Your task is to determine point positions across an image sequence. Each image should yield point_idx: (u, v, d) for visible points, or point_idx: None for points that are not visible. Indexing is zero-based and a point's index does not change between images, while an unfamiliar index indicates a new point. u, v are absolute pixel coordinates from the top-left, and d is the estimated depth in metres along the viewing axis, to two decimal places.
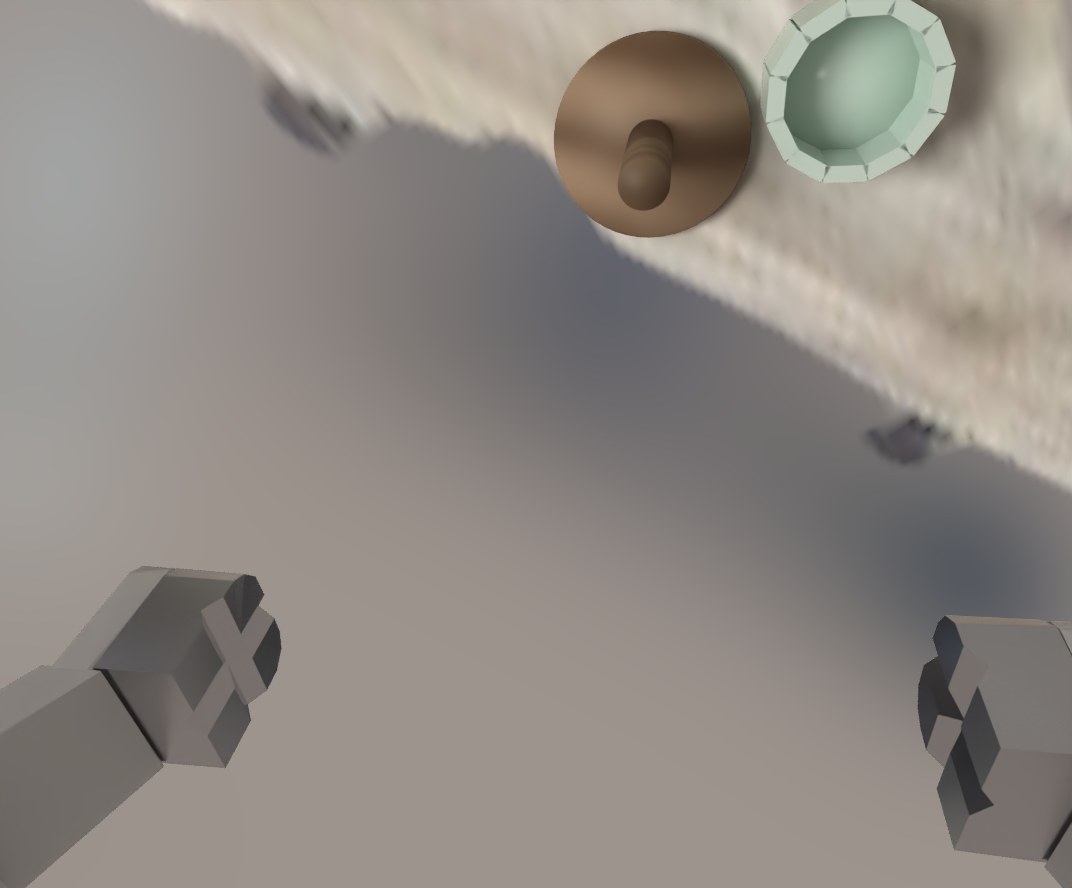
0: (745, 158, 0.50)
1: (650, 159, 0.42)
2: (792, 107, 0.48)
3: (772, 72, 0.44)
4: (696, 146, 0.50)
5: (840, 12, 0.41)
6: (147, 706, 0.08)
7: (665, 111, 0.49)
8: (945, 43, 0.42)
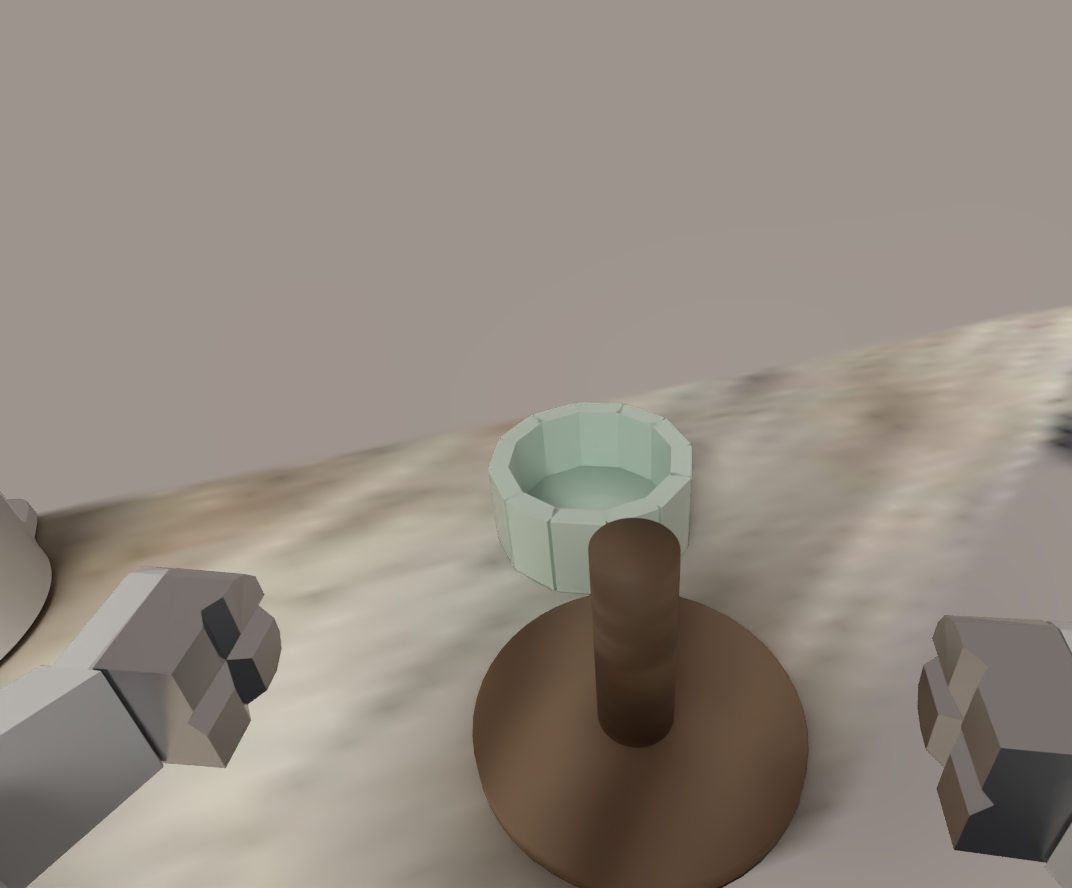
0: None
1: (592, 537, 0.25)
2: None
3: (546, 520, 0.34)
4: None
5: (500, 472, 0.38)
6: (147, 706, 0.08)
7: (590, 687, 0.31)
8: (555, 409, 0.42)
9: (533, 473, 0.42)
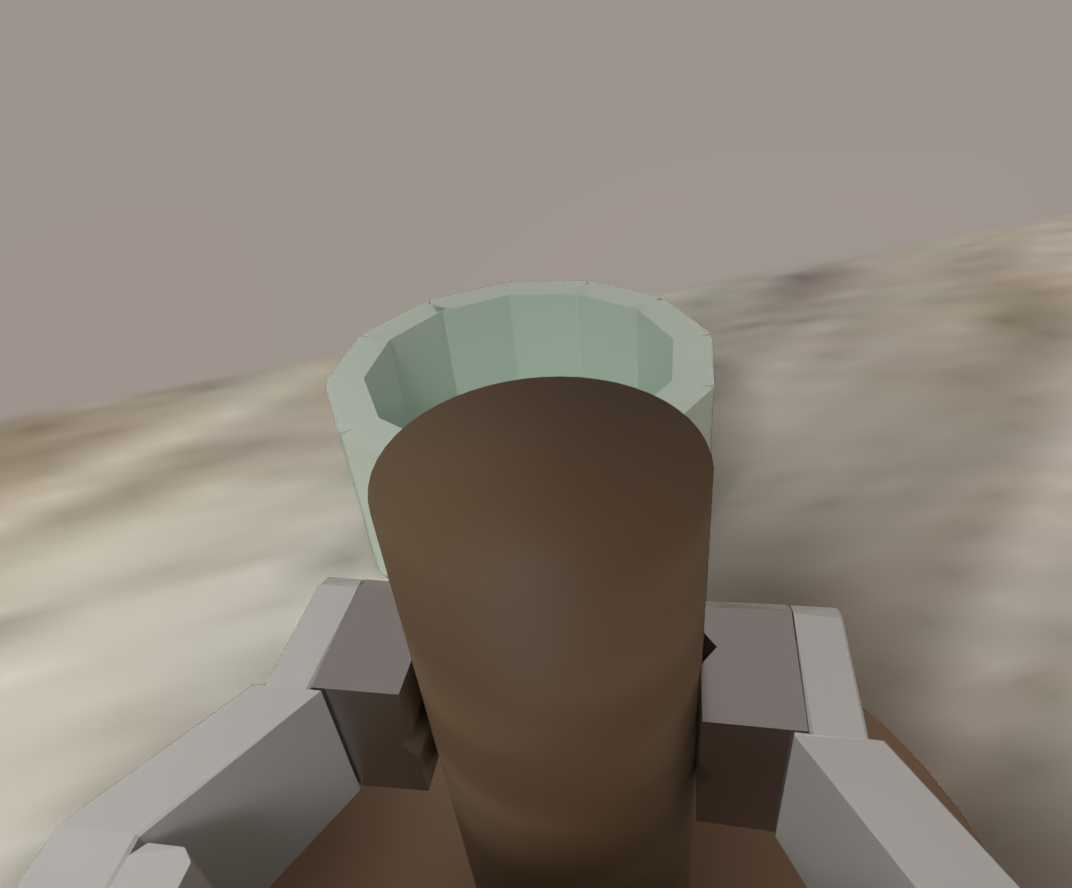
0: None
1: (401, 435, 0.07)
2: None
3: None
4: None
5: (347, 386, 0.20)
6: (360, 727, 0.08)
7: None
8: (469, 292, 0.24)
9: (432, 405, 0.24)
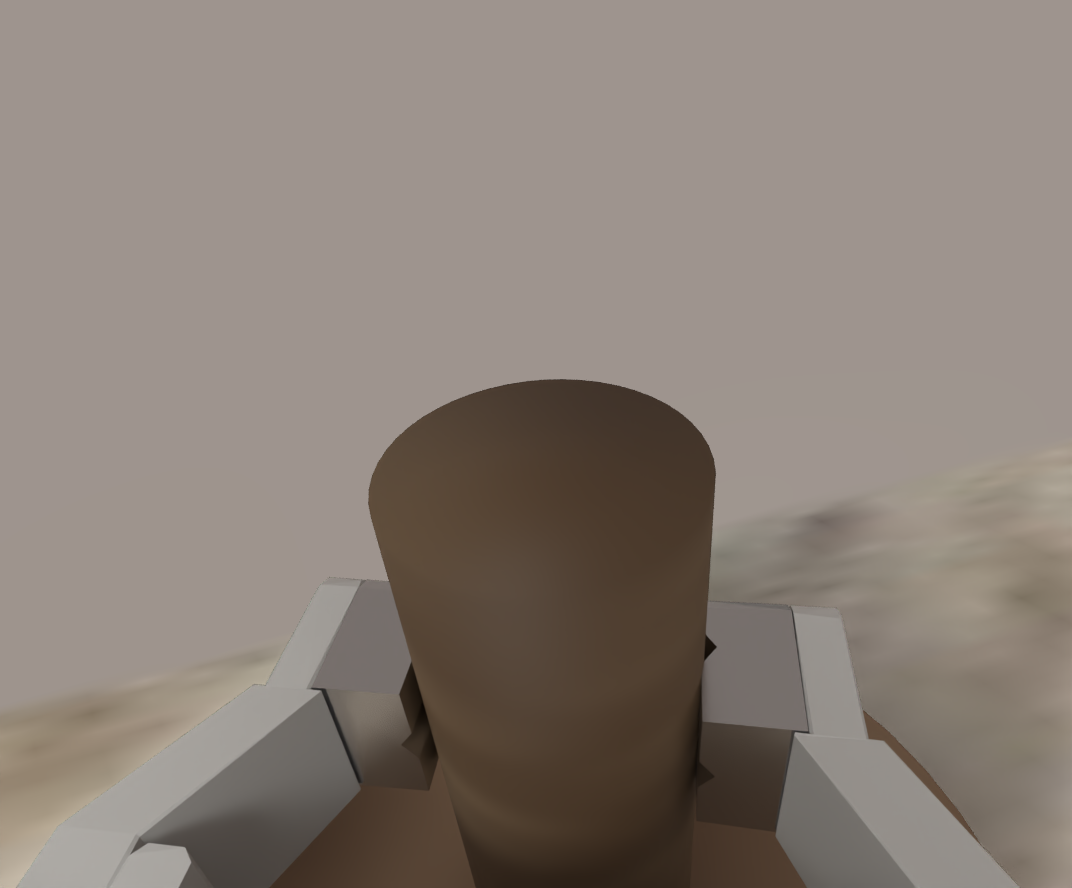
0: None
1: (401, 438, 0.07)
2: None
3: None
4: None
5: None
6: (360, 727, 0.08)
7: None
8: None
9: None
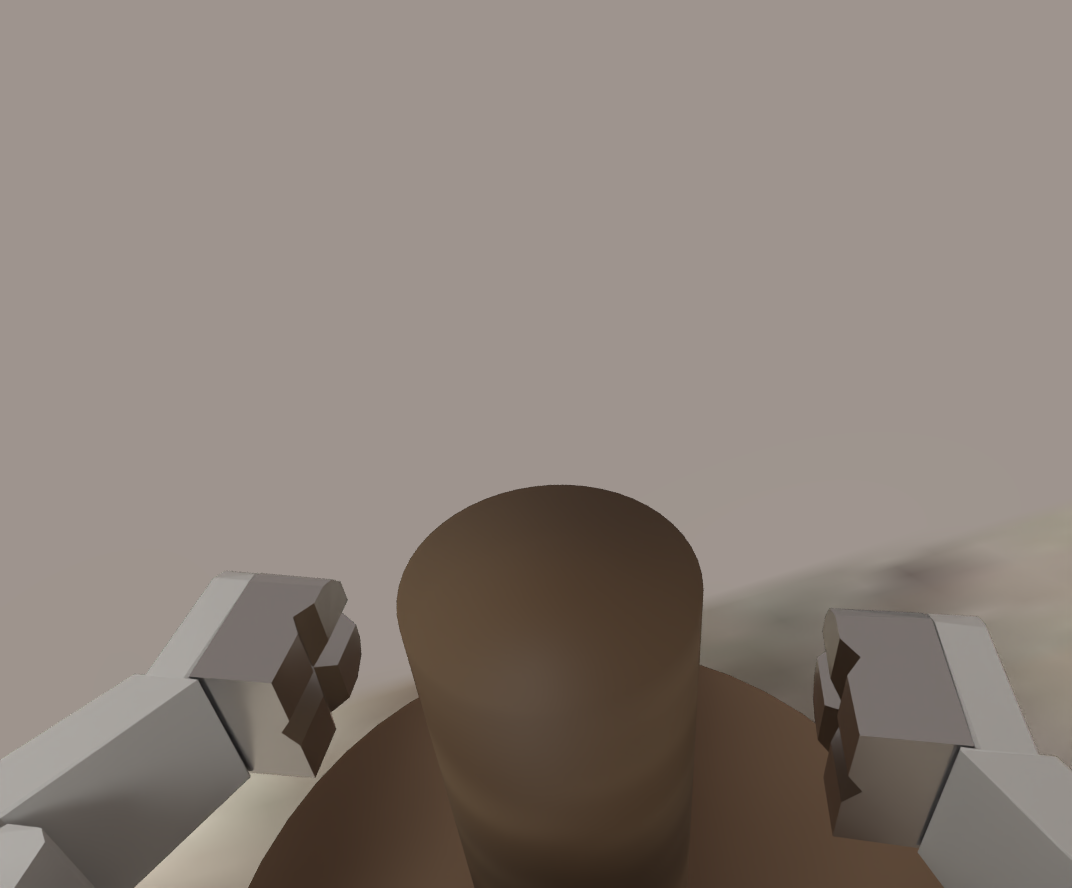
0: None
1: (423, 546, 0.08)
2: None
3: None
4: None
5: None
6: (241, 715, 0.08)
7: None
8: None
9: None
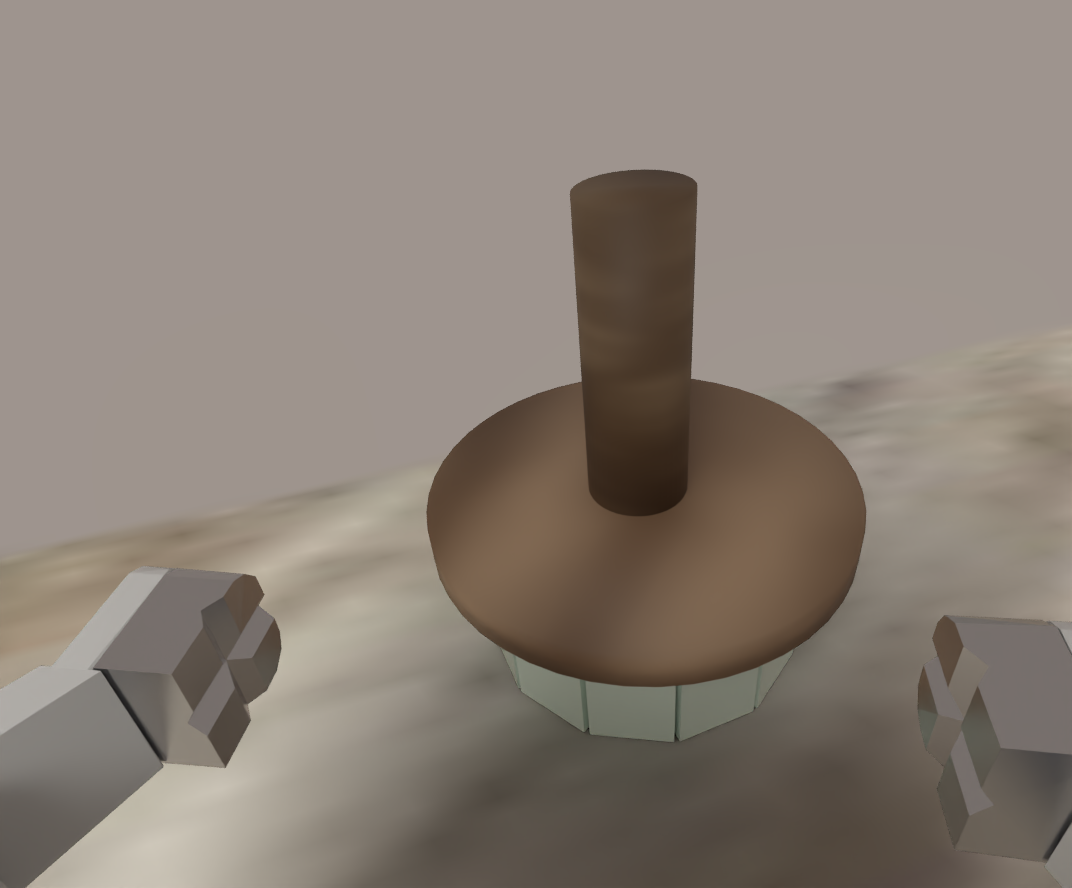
0: None
1: (576, 185, 0.19)
2: None
3: None
4: None
5: None
6: (147, 706, 0.08)
7: (578, 463, 0.24)
8: None
9: None
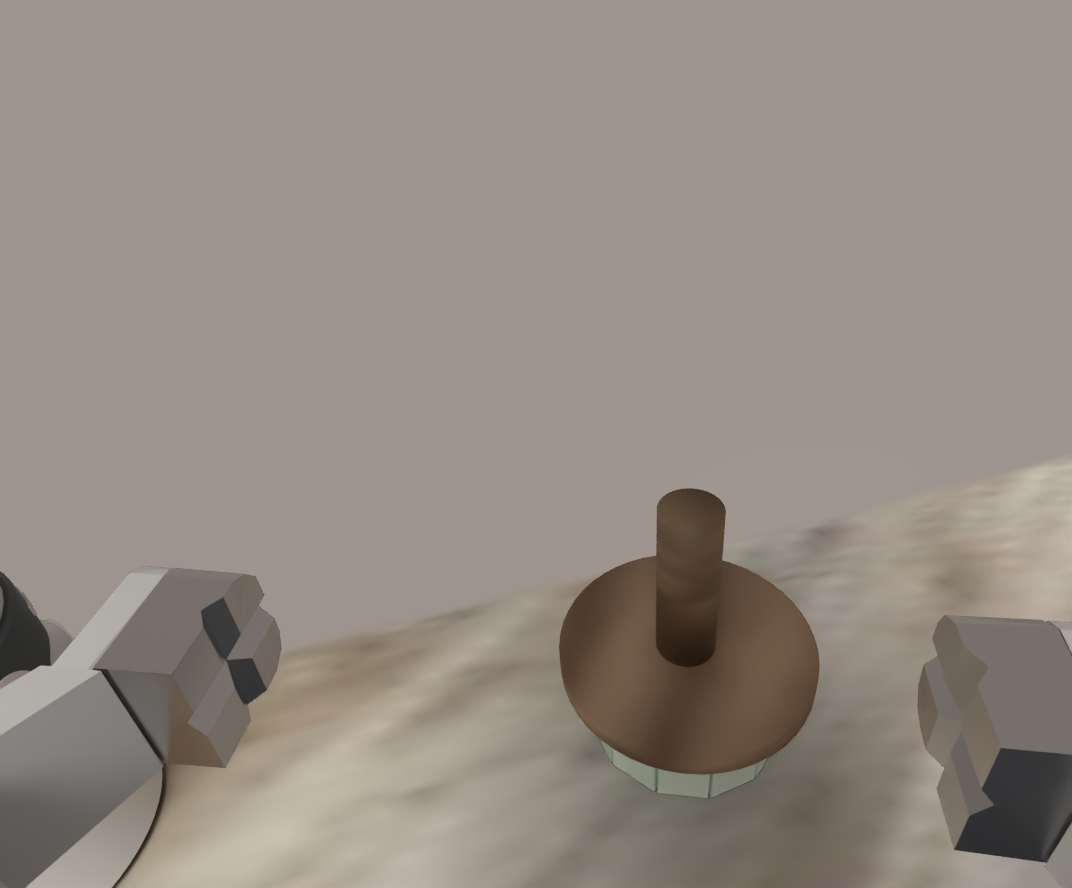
0: None
1: (659, 502, 0.34)
2: None
3: None
4: None
5: None
6: (147, 706, 0.08)
7: (648, 625, 0.40)
8: None
9: None
